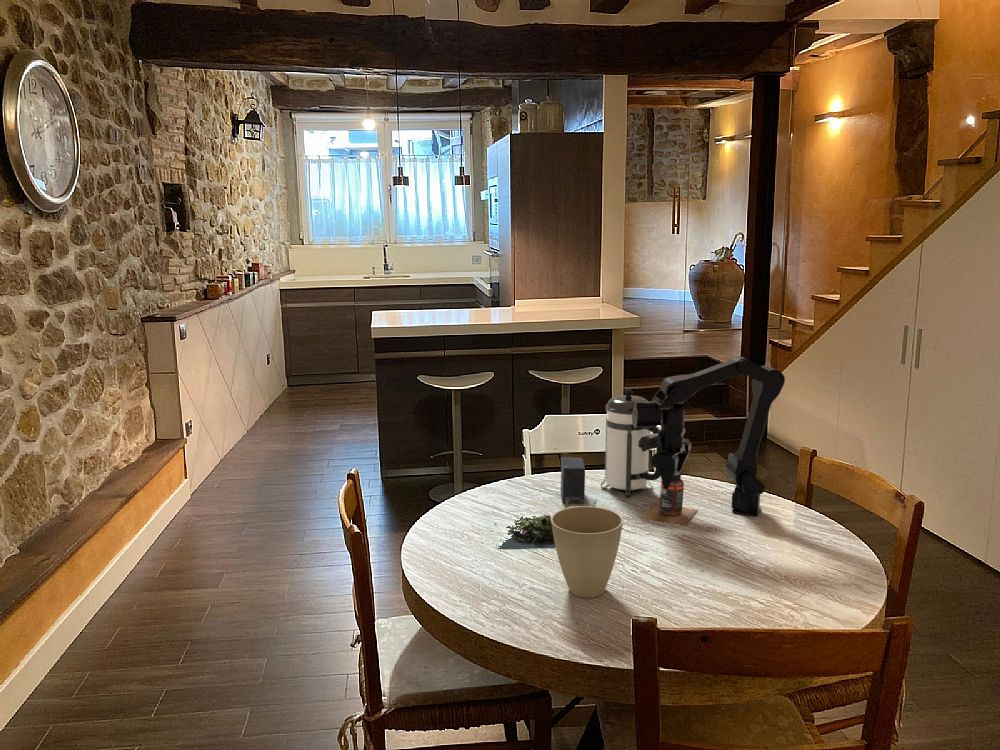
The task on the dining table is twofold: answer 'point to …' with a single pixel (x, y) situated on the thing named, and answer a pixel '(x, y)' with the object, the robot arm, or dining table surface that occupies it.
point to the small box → (572, 480)
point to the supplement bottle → (672, 496)
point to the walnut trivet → (656, 515)
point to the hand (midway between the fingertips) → (670, 483)
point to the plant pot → (586, 547)
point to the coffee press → (626, 447)
